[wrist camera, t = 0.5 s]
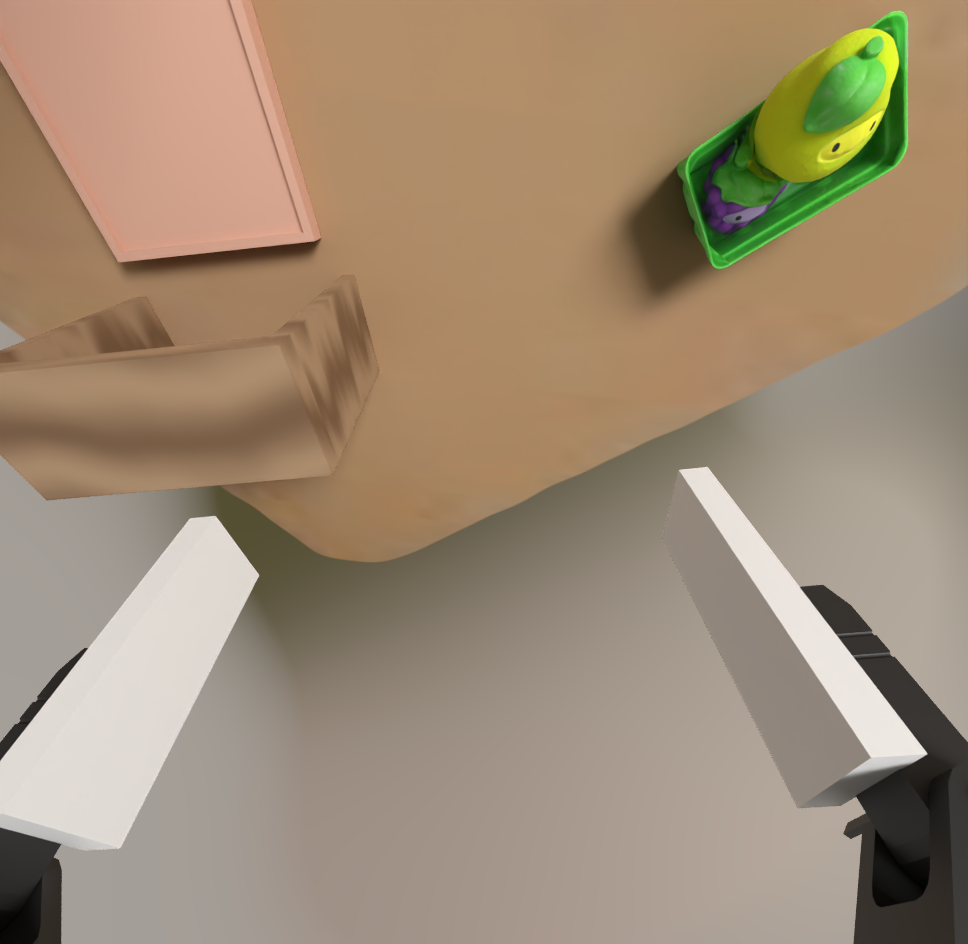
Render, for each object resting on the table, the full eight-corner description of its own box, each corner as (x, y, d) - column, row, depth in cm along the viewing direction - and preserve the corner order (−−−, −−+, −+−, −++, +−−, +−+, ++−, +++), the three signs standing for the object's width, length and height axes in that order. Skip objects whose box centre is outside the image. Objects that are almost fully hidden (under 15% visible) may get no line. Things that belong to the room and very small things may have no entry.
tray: (-105, -165, 19) (-186, -212, 17) (189, -209, 19) (148, -264, 16) (133, 258, 30) (104, 266, 28) (321, 237, 30) (308, 244, 27)
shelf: (133, 297, 32) (-76, 380, 20) (354, 274, 31) (279, 344, 19) (187, 388, 37) (46, 500, 25) (379, 370, 36) (332, 475, 24)
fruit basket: (683, 262, 32) (768, 300, 23) (645, 141, 27) (732, 128, 18) (845, 161, 28) (1022, 159, 19) (832, 1, 23) (1058, -102, 14)
